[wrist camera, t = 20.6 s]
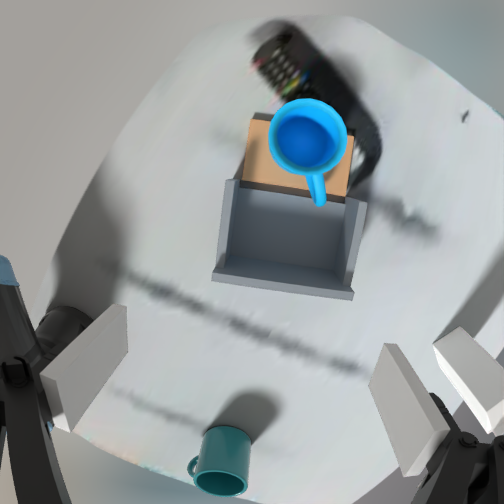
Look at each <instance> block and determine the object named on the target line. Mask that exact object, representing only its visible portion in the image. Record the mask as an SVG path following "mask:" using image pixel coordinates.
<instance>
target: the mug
mask: <svg viewBox="0 0 504 504" xmlns="http://www.w3.org/2000/svg"><path fill="white" fill-rule="evenodd" d="M347 141H348V140H347V131H346V127H345V125H344V122H343V120H342V118H341V117H340V115H339V114H338V113H337V112H336V111H335V110H334V109H333V108H332V107H331V106H329V105H327V104H326V103H324V102H322V101H318V100H315V99H311V98H308V99H297V100H294V101H291V102H289V103H286V104H285V105H284V106H283V107H281V108H280V109H279V110H278V111H277V112H276V114H275V115H274V117H273V119H272V120H271V123H270V127H269V132H268V143H269V151H270V153H271V156H272V158H273V160H274V161H275V162H276V163H277V165H278V166H279V167H280V168H282V169H283V170H285V171H287V172H289V173H292V174H296V175H304V176H305V177H306V181H307V184H308V188H309V191H310V194H311V197H312V199H313V202H314V204H315V205H316V206H317V207H322V206H324V205H325V204H326V200H327V196H326V187H325V181H324V176H323V173H324V172H327V171H329V170H331V169H332V168H333V167H334V166H335V165H337V164H338V163H339V162H340V160H341V158H342V157H343V155H344V153H345V150H346V146H347Z"/></svg>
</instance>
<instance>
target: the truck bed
mask: <svg viewBox="0 0 504 504" xmlns="http://www.w3.org/2000/svg"><path fill="white" fill-rule="evenodd" d="M239 186H240V179H228V180H226V182H225V190H224V197H223V205H222V213H221V222H220V230H219V238H218V247H217V256H216V265H215V268H214V270H213V272H212V280H211V281H214V282H221V283H227V284H234V285H240V286H247V287H254V288H261V289H268V290H275V291H282V292H289V293H296V294H304V295H311V296H319V297H326V298H334V299H342V300H350V301H352V300H353V296H354V291H353V290H352V288H351V287H350V286H351V282H352V277H353V273H354V269H355V264H356V260H357V255H358V250H359V246H360V241H361V236H362V231H363V226H364V220H365V215H366V210H367V204H368V203H367V202H364V201H361V200H358V199H355V198H351V197H346V196H345V201H344V204H343V203H337V202H332V201H326V204H325V205H324V206H322V207H317V206H316V205H315V204H314V202H313V199H312V198H308V197H302V196H296V195H290V194H283V193H277V192H270V191H263V190H256V189H249V188H242V187H239Z"/></svg>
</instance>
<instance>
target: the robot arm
mask: <svg viewBox="0 0 504 504" xmlns="http://www.w3.org/2000/svg"><path fill="white" fill-rule="evenodd" d="M19 286H20V285H19V283H18V282H17V281H16V278H15V275H14V272H13V269H12V266H11V263H10V262H9V260H8V259H7V258H6V257H4V256H2V255H0V468H1V460H2V454H3V448H4V442H5V436H6V434H7V441H8V448H9V457H10V463H11V469H12V475H13V481H14V486H15V491H16V495H17V500H18V504H72V503H71V500H70V497H69V494H68V491H67V489H66V486H65V483H64V480H63V477H62V473H61V470H60V467H59V464H58V460H57V457H56V453H55V449H54V446H53V442H52V438H51V434H50V432H51V431H52V429H53V427H54V425H55V426H56V427H58V428H60V429H62V430H65V431H68V432H70V433H71V432H72V430H73V429H74V427H75V426H76V424H77V423H78V421H79V420H80V419H81V417H82V416H83V414H84V413H85V411H86V410H87V409H88V407H89V406H90V404H91V403H92V401H93V400H94V399H95V397H96V396H97V394H98V393H99V391H100V390H101V389H102V387H103V386H104V384H105V383H106V382H107V380H108V379H109V377H110V376H111V375H112V373H113V372H114V371H115V369H116V368H117V366H118V365H119V364H120V362H121V361H122V359H123V358H124V357H125V355H126V354H127V353H128V340H127V309H126V306H122V305H118V304H112V305H111V306H110V307H109V308H108V309H107V310H106V311H104V312H103V313H102V314H101V315H100V316H99V317H98V318H97V319H96V320H95V321H93V320H92V319H91V318H90V317H88V316H87V315H86V314H84V313H83V312H81V311H79V310H77V309H75V308H72V307H66V306H61V307H57V308H54V309H53V310H51V311H50V312H48V313H47V314H46V315H45V316H44V317H43V318H42V319H41V321H40V323H39V326H38V327H37V329H36V331H34V328H33V326H32V323H31V321H30V318H29V315H28V313H27V310H26V307H25V304H24V301H23V298H22V295H21V292H20V289H19ZM368 386H369V389H370V391H371V394H372V396H373V399H374V401H375V404H376V406H377V408H378V411H379V414H380V416H381V419H382V421H383V424H384V426H385V429H386V431H387V434H388V437H389V439H390V442H391V444H392V447H393V450H394V452H395V455H396V458H397V461H398V463H399V466H400V469H401V471H402V474H403V477H408V476H415V475H419V474H420V473H421V471H422V470H423V468H424V467H425V466H426V467H427V470H428V474H427V475H426V476H425V477H424V479H423V480H422V481H421V483H420V484H419V485H418V486H417V488H419V490H418V491H417V493H416V495H415V497H414V499H413V501H412V502H411V504H504V436H503V435H499V436H497V437H496V438H495V439H494V440H493V442H492V443H491V444H485V443H479V441H478V439H477V438H476V437H475V436H474V435H472V434H470V433H468V432H461V431H460V429H459V427H458V425H457V424H456V422H455V421H454V419H453V417H452V416H451V414H450V413H449V411H448V409H447V408H445V405H444V403H443V402H442V400H441V399H440V398H439V397H438V396H436V395H435V394H434V393H428V391H427V390H426V388H425V387H424V385H423V383H422V382H421V380H420V379H419V377H418V376H417V374H416V373H415V371H414V369H413V368H412V366H411V365H410V363H409V362H408V360H407V359H406V357H405V356H404V354H403V353H402V351H401V350H400V348H399V347H398V345H397V344H388V343H384V345H383V348H382V350H381V353H380V356H379V359H378V362H377V364H376V367H375V370H374V372H373V375H372V377H371V380H370V383H369V385H368Z"/></svg>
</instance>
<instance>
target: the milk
mask: <svg viewBox="0 0 504 504" xmlns="http://www.w3.org/2000/svg"><path fill="white" fill-rule="evenodd" d="M433 347H434V350H435V354H436V357H437V361H438V364H439V367H440V368H441V370H442V371H443V372H444V374H445V375H446V376H447V378H448V379H449V380H450V382H451V383H452V384H453V386H454V387H455V388H456V390H457V391H458V393H459V394H460V395H461V397H462V398H463V399H464V401H465V402H466V404H467V405H468V406H469V408H470V409H471V411H472V412H473V413H474V415H475V416H476V418H477V419H478V421H479V422H480V424H481V425H482V426H483V428H484V429H485V431H486V432H487V434H489V433H491V432H493V433H494V435H495V436H496V437H497V436H499V435H502V434H504V369H503V367H502V366H500V364H499V363H498V362H497V361H496V360H495V359H494V358H493V357H492V356H491V355H490V354H489V353H488V352H487V351H486V350H485V349H484V348H483V347H481V346H480V345H479V344H478V343H477V342H476V341H475V340H474V339H473V338H472V337H471V336H470V335H469V334H468V333H467V332H466V331H465V330H464V329H463V328H462V327H460V326H459V327H457V328H456V329H454V330H453V331H452V332H450V333H449V334H447V335H446V336H444V337H443V338H441V339H439V340H438V341H436V342H435V343H433Z"/></svg>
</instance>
